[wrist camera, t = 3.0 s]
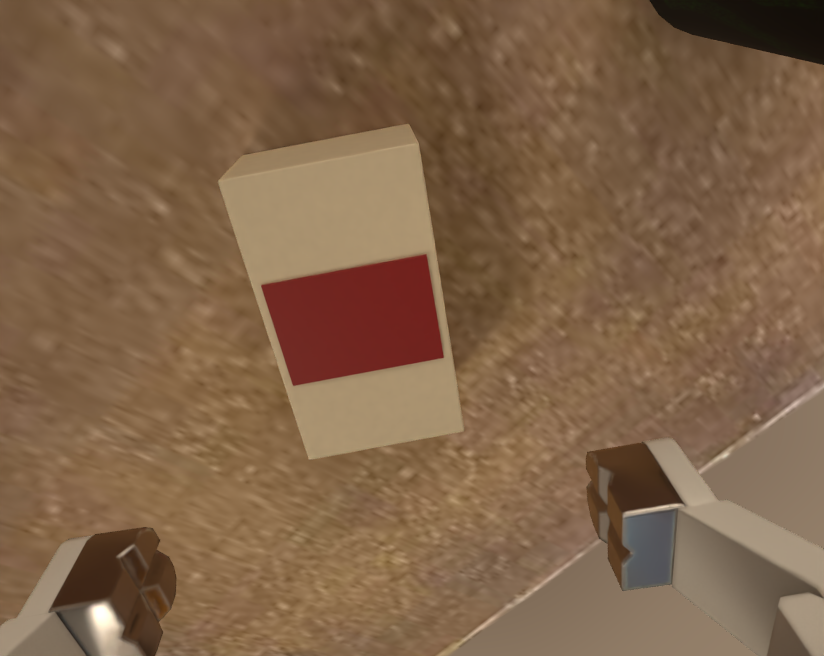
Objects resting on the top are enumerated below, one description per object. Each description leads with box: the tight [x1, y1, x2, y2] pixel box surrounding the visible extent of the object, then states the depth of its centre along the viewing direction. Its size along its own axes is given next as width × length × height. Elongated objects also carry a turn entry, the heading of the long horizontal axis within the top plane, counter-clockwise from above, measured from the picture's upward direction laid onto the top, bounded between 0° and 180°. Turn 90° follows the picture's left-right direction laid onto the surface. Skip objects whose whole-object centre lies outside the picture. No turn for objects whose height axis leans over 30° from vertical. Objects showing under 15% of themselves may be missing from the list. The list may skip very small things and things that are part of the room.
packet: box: [218, 124, 464, 460], centre depth 20 cm, size 10×6×4 cm, turn 10°
